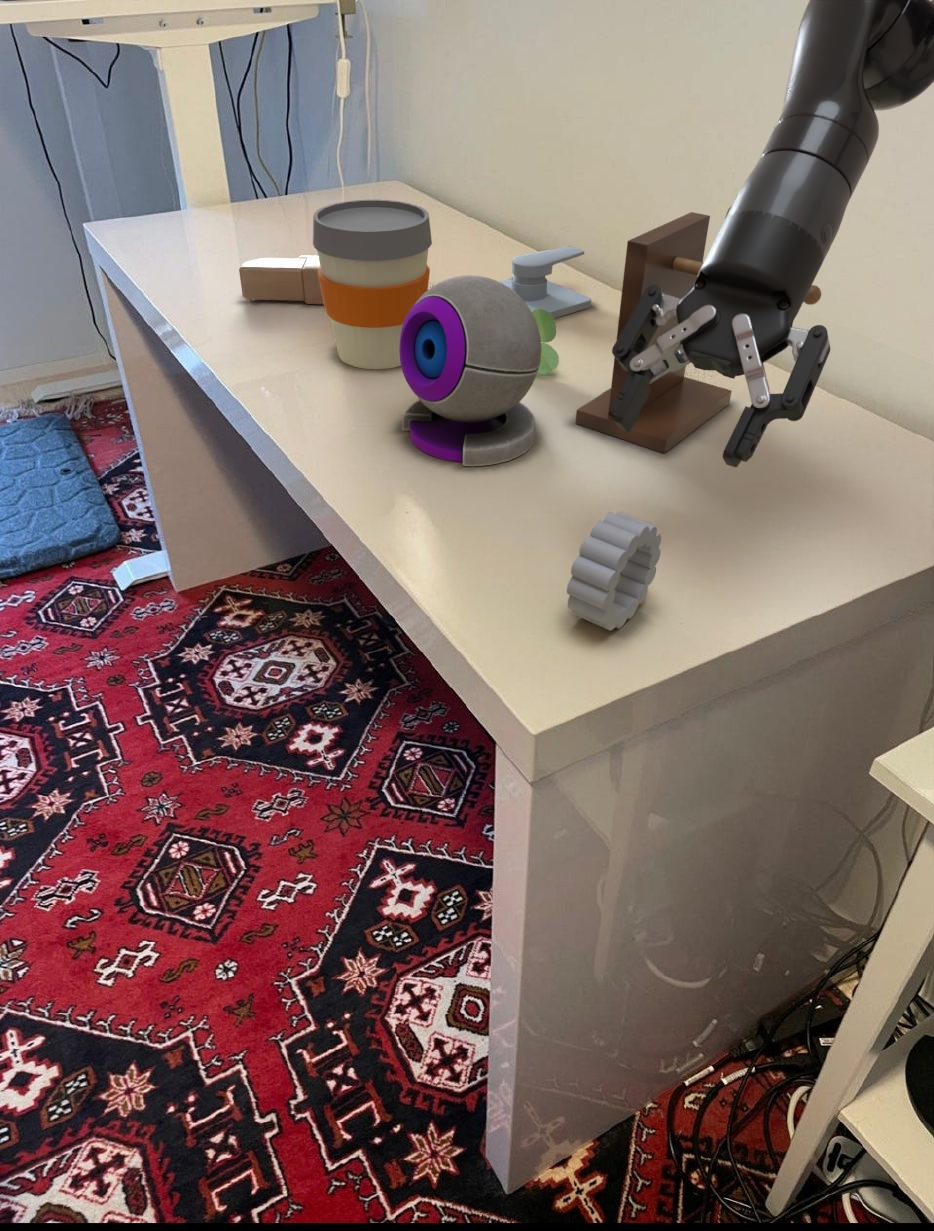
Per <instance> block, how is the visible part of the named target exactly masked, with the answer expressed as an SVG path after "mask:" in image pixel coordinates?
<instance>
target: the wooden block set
mask: <svg viewBox="0 0 934 1231" xmlns="http://www.w3.org/2000/svg"><path fill="white" fill-rule="evenodd" d="M319 267H320V263H319V258H318V255H299V256H298V257H297V258H285V257H282V258H280V257H260V258H257V259H256V258H255V259H252V260H248V261H244V262H243V263H242V265H241V266H240V267H239V269H238V272H239V273H238V274H239V279H240V285H241V286H240V287H241V294H242V297H243V299H245V300H252V301H253V300H255V301H256V300H257V301H259V300H260V301H295V302H297V301H298V302H299V301H300V302H305V303H306V305H324V301H323V296H322V291H321V287H320V282H319V277H318V269H319Z"/></svg>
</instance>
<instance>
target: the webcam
mask: <svg viewBox="0 0 934 1231" xmlns="http://www.w3.org/2000/svg"><path fill="white" fill-rule="evenodd" d="M541 343H542V342H541V338H540V333H539V329H538V325H537V322H536V320H535V318H534V316H533V314H532V312H531V310H530V308H529V307H528V306H527V304H526V303H525V302H524V300H523V299H522V298H521V297H520V296H519V295H518V294H517V293H516V292H514V291H513V290H512V289H510V288H509V287H507V286H506V285H504V284H503V283H500V282H499V280H495V279H493V278H491V277H486V276H481V275H467V274H466V275H459V276H454V277H451V278H447V279H444V280H443V281H442V280H441V282H440V281H439V282H438V283H436V284H435V285H433V286H431V287H430V288H428V291H426V292H425V293H424V294H423V295H422V296H421V297H420V298H419V299H418V300H417V302H416V303H415V304H414V306H413V307H412V308H411V310H410V311H409V313H408V315H407V316H406V318H405V321H404V323H403V326H402V330H401V335H400V344H399V355H400V363H401V366H400V367H401V371H402V374H403V378H404V379H405V381H406V383H407V385H408V387H409V388H410V390H411V391H412V393H413V394H414V395H415V397H416V398H417V399H418V400H417V401H415V402H414V403H413V404H411V405H410V406H409V407H408V408H407V409H406V410H405V412H404V414H403V416H402V419H401V430H402V431H406V432H407V431H408V432H409V436H410V440H411V442H412V443H413V445H414V446H416V447H417V449H419V450H420V451H422V452H424V453H425V454H427V455H429V456H432V457H436V458H438V459H441V460H446V461H450V462H451V461H452V462H459V463H462V467H480V466H481V467H483V466H491V465H497V464H501V463H505V462H508V461H511V460H514V459H516V458H518V457H520V456H522V455H523V454H525V453H526V452H528V451H529V450H530V449H531V448H532V447H533V445H534V443H535V441H536V432H537V424H536V418H535V416H534V414H533V413H532V411H531V410H530V408H528V407H527V406H526V405H525V404H524V403H522V402H521V401H522V400H523V399H524V398H525V396H526V395H527V394H528V392H529V391H530V390H531V388H532V386H533V384H534V382H535V381H536V378H537V376H538V374H537V373H538V370H539V366H540V360H541Z"/></svg>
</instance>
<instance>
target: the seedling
mask: <svg viewBox="0 0 934 1231" xmlns="http://www.w3.org/2000/svg"><path fill="white" fill-rule="evenodd" d="M532 314H533V316H534V318H535V320H536V322H537V325H538V329H539V333H540V338H541V360H540V366H539V370H538V373H537V375H543V376H545V375H548V374H549V373H552V372H554V370H556V369H557V368H558V366H559V363H560V357H559V354H558V352H557V351H556V349H555V348H553V347H552V346H551V345H550V344H549V342H552V341H553V340H554V339H555V338H556V335H557V323H556V318H554V317H553V316H552V315H551V314H550V313H549V312H548V311H546V310H543V309H537V310H533V311H532Z"/></svg>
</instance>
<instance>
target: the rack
mask: <svg viewBox="0 0 934 1231" xmlns="http://www.w3.org/2000/svg"><path fill="white" fill-rule="evenodd" d="M710 218H711V215H707V214H705V213H704V214H703V213H698V212H693V211H691V212H688V213H686V214H684V215H682V216H680V217H677V218H675V219H673V220H671V221H669V222H666V223H664V224H662V225H660V226H657V227H655V228H653V229H651V230H648V231H646V232H644V233H642V234H640V235H638V236H635V237H633V238H631V239H628V240H627V243H626V251H625V262H624V270H623V278H622V288H621V296H620V305H619V314H618V322H617V331H616V333H617V334H616V340H615V342H616V341H617V339H618V337H619V336H620V334H621V332H622V330H623V329H624V327H625V325H626V323H627V321H628V320H629V318H630V316H631V314H632V313H633V311H634V309H635V307H636V305H637V304H638V302H639V300H640V298H641V297H642V295H643V293H644V291H645V290H646V288H647V287H648V286H650V285H658V286H659V287H660V289H661V291H662V292H663V293H664V294H667V295H670V296H673V297H676V298H679V299H682V298H683V297H684V296H686V295H687V294H688V293H689V292H690V291H691V290H692V288H693V287H694V285H695V282H696V279H697V276H698V274H699V271H700V269H701V267H702V265H703V263H704V255H705V250H706V244H707V238H708V237H707V236H708V231H709V225H710ZM821 297H822V290H821V289H820V287H819V286H817V285H816V284H812V285H811V287H810V289H809V291H808V294H807V296H806V298H805V300H804V302H803V304H806V305H808V306H809V305H810V306H812V305H815V304H817V303H818V302H819V301H820V299H821ZM677 325H678V321H677V316H674V317H671V318H670V319H669V320H668V321H667V322H666V324H665V325H664V326H659V327H658V328H657V330H656V332H655V334H654V336H653V337H652V339H651V341H650V343H649V344H648V346H647V348H646V349H648V348H649V347H651V346H652V345H654V344H655V341H656V339H657V338H658V337H660V336H661V335H663V334H664V333H666V332H668V331H669V330H671V329H672V328H674V327H675V326H677ZM680 348H682V344H681V345H680V346H678V347H677V348H676V349H675V350H674V351H676V350H679V349H680ZM686 367H687V365H686V366H685V367H683V368H681V369H680V370H678V371H676V372H669V373H667V374H665V375H664V376H662V377H660V378H659V379H657V380H656V381H654V382H652V383H651V384H649V386H650V387H651V391H650V393H649V395H648V397H647V399H646V401H645V403H644V406H643V408H642V410H641V412H640V414H639V416H638V418H637V420H636V422H635V424H634V426H633V428H632V430H631V431H630V432H627V431H624V430H621V429H619V427H618V426H617V425H616V423H615V422H614V417H615V416H614V414H613V413H612V407H613V404H614V402H615V400H616V398H617V396H618V394H619V392H620V390H621V388H622V386H623V384H624V382H625V379H626V377H627V375H628V372H626V371H624V370H623V369H622V368H621V366H620V364H619V362H618V361H617V359H616V358H615V357H614V358H613V368H612V377H611V386H610V388H609V389H607V390H605V391H604V392H602V393H601V394H599V395H598V396H596V397H594V398H593V399H591V400H590V401H588V402H586V403H585V404H584V405H582V406H580V407H578V408H577V409H576V412H575V424H577V425H579V426H582V427H585V428H587V429H591V430H593V431H598V432H600V433H603V434H606V435H609V436H610V437H611V436H612V437H615V438H618V439H619V440H620V439H621V440H623V441H626V442H629V443H633V444H635V445H638V446H641V447H644V448H647V449H649V450H653V451H656V452H659V453H661V454H665V453H667V452H668V451H669V450H671V449H672V448H674V447H675V446H676V445H677V444H679V443H680V442H681V441H682V440H684V439H685V438H687V437H688V436H689V435H690V434H692V433H693V432H694V431H695V430H696V429H698V428H700V427H701V426H702V425H703V424H704V423H706V422H707V421H708V420H710V419H711V418H712V417H715V415H717V414H718V413H719V412H720V411H721V410H723V409H724V408H726V407H727V406H728V405H730V403H731V402H730V401H731V397H732V390H731V389H728V388H724V387H721V386H718V385H713V384H711V383H707V382H703V381H700V380H697V379H693V378H690V377H686V376H685V375H686V369H687V368H686Z"/></svg>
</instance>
